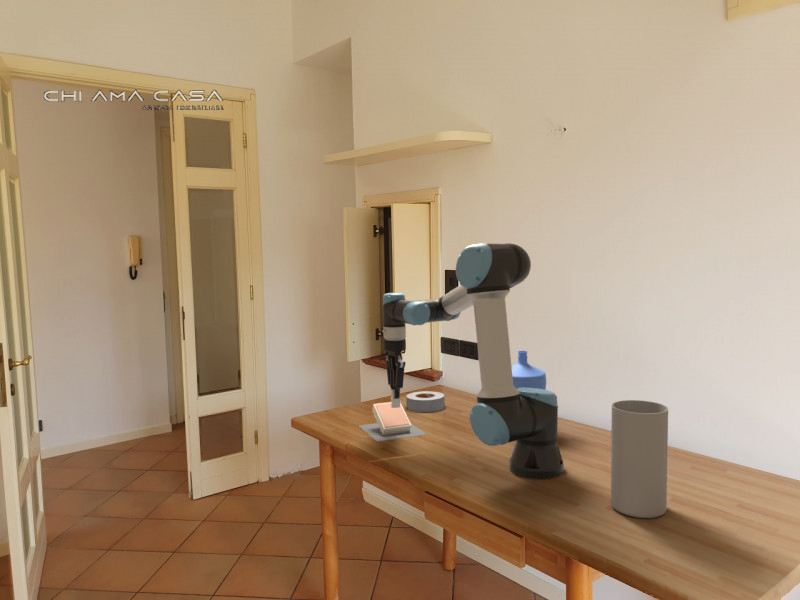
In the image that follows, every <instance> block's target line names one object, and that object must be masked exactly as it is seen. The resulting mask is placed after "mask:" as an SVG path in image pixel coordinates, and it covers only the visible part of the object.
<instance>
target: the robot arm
mask: <svg viewBox="0 0 800 600" xmlns="http://www.w3.org/2000/svg"><path fill="white" fill-rule="evenodd" d="M531 263H532V262H531V258H530V256H529V254H528V252H527V251H526V250H525V248H523V247H522V246H520V245H518V244H515V243H510V242H509V243H485V242H484V243H477V244H476V243H475V244H470V245H468V246H466V247H465V248H464V249H462V251H460V254H459V255H458V258H457V260H456V264H455V275H456V276H455V277H456V280H457V281H458V283H459V286H456V287H455V288H453V289H451V290H450V291H449V292H448V293H446V294H444V295H443V296H440V297H439V298H432V299H430V298H429V299H420V300H419V299H418V300H407V299H406V296H405V294H404V293H403V292H388V293H384V294H383V295H382V305H381V306H382V325H383V329H381V331H382V333H383V338H384V340H383V350H384V351H385V352H387V355H386V356H384V360H385V364H386V375H387V384H388V386H389V387H390V398H391V399H390V402H391V407H392V408H398V407H400V403H401V389H403V387H404V378H405V368H406V361H403V354H402V352H404V351H406V350H407V346H406V345H407V344H406V343H407V342H406V337H407V335H406V334H407V332H406V330H407V327H406V324H408V325H412V326H422V325H425V324H428V323H434V322H435V323H436V322H445V321H446V322H449V321H453V320H457V319H458V318H459V317H460V315H461V312H463V311H465V310H467V309H468V308H470V307H472V306H473V311H474V314H473V315H474V321H475V332H476V333H475V334H476V341H477V342H476V343H477V354H478V364H479V374H480V375H479V376H480V386H481V388H480V389H479V391H478V392H477V394H476V402H477V403H475V405H474V406H472V407H471V410H470V412H469V421H470V422H469V423H470V426H471V429H472V431H473V433H474V435H475V437H476V438H478V439H479V441H481V442H482V443H483V444H484V445H487V446H491V447H492V446H493V447H494V446H499V445H500V446H503V445H506V444H508V443H512V442H515V443H514V446H513V448H512V451H511V456H510V458H509V466H508V467H509V470H510V472H512V473H513V474H515V475H517V476H521V477H525V478H528V479H529V478H530V479H538V480H539V479H540V480H541V479H551V478H556V477H559V476H561V475H563V473H564V471H565V469H564V467H565V463H564V460H563V457H562V454H561V450H560V448H559V445H558V421H559V420H558V419H559V417H558V416H559V415H558V412H559V404H558V395H556V393H555V392H553V391H550V390H548V389H546V390H543V389H537V388H517V389H516V388H515V387H514V386H513V377H512V366H513V365H512V360H511V359H512V357H511V347H510V338H509V335H510V334H509V327H508V326H509V325H508V315H507V307H506V305H507V304H506V297H507V296H508V295H509V293H510V292H511V290H510V289H512V288H514V287H516V286H518V285H520V284H521V283H522V282H524V281H525V279H527V278H528V276H529V274H530V272H531V267H532V266H531Z"/></svg>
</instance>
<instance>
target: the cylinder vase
mask: <svg viewBox="0 0 800 600" xmlns="http://www.w3.org/2000/svg"><path fill="white" fill-rule="evenodd" d="M610 430H611V431H610V432H611V434H610V435H611V438H610V439H611V441H610V442H611V443H610V444H611V447H610V449H611V450H610V451H611V454H610V504H611V506H612V508H613V509H614V510H616V511H617V512H618V513H620V514H622V515H625V516H628V517H632V518H638V519H653V518H654V519H655V518H659V517H661V516H663V515H664V514H666V512H667V507H668V506H667V502H668V500H667V499H668V498H667V497H668V494H667V493H668V449H669V448H668V447H669V446H668V445H669V444H668V443H669V442H668V439H669V436H668V434H669V407H668V406H667V405H664V404H662V403H658V402H653V401H650V400H649V401H648V400H640V399H639V400H636V399H625V400H617V401H614V402H613V403H612V404H611V429H610Z"/></svg>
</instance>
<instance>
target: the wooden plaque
mask: <svg viewBox="0 0 800 600" xmlns="http://www.w3.org/2000/svg"><path fill="white" fill-rule="evenodd" d="M371 411H372V414H373V415H374V418H375V420H376V423H378V425H379V428H380V430H381V432H382V435H388V434H395V433H402V432H409V431H410V429H411V424H412V423H411V421H410V419H409V418H408V417H409V416H408V415H407V413H406V411H405V409H404V407H403V405H402V402H400V407H398V408H392V407H391V401H389V402H388V401H387V402H380V403H379V402H378V403H373V406H372V409H371Z"/></svg>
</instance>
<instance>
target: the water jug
mask: <svg viewBox="0 0 800 600" xmlns="http://www.w3.org/2000/svg"><path fill="white" fill-rule="evenodd" d="M511 366H512V377H513V386H514V387H515V388H516V389H517V388H537V389H543V390H547V375H546V372H545V371H544V370H542V369H540V368H537V367H536V366H533V365H531V364H530V363H528V350H527V351H526V350H518V351H517V363H515V364H513V365H511Z"/></svg>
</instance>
